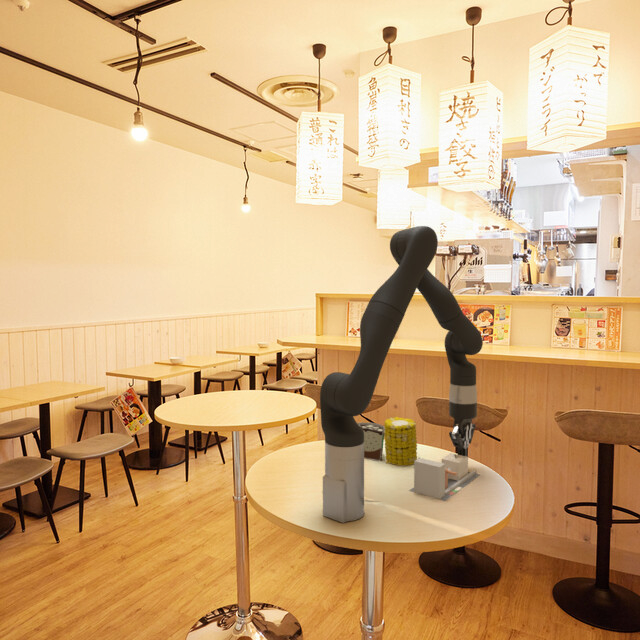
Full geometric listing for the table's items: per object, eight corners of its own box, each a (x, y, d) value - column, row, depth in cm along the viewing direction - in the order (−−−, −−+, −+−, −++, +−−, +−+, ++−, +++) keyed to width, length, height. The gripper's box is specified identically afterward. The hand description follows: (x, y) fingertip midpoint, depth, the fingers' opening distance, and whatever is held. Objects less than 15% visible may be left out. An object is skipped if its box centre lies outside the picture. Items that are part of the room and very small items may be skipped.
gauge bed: (445, 506, 119) (445, 468, 119) (408, 496, 125) (409, 459, 125) (480, 479, 136) (480, 446, 135) (446, 471, 142) (446, 439, 142)
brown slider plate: (455, 491, 124) (455, 472, 123) (429, 485, 128) (430, 466, 128) (457, 490, 125) (457, 471, 124) (432, 483, 129) (432, 465, 129)
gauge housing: (453, 484, 129) (454, 464, 128) (436, 479, 132) (436, 460, 131) (467, 474, 135) (468, 455, 135) (450, 470, 139) (451, 452, 138)
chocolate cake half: (392, 456, 156) (392, 425, 156) (384, 462, 151) (384, 430, 150) (358, 449, 163) (358, 420, 162) (349, 455, 157) (349, 424, 157)
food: (420, 468, 150) (405, 480, 142) (387, 452, 156) (371, 462, 148) (430, 422, 146) (415, 432, 138) (396, 408, 153) (379, 416, 145)
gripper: (466, 406, 130) (465, 470, 131) (485, 397, 140) (484, 457, 141) (439, 402, 135) (439, 464, 136) (460, 394, 145) (459, 451, 146)
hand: (462, 460), depth 138 cm, fingers closed
